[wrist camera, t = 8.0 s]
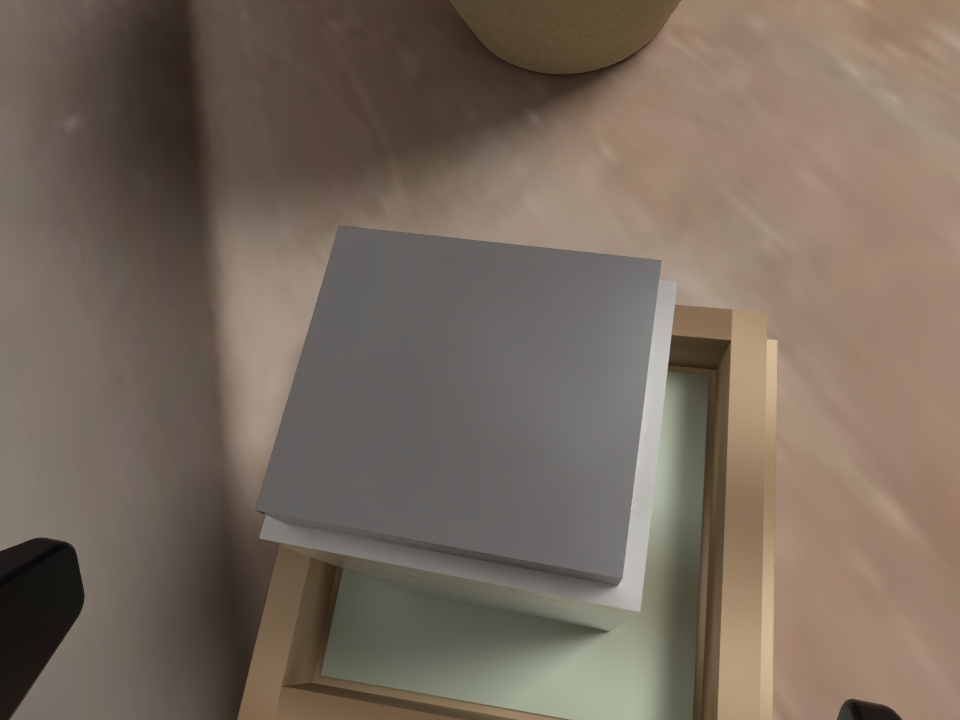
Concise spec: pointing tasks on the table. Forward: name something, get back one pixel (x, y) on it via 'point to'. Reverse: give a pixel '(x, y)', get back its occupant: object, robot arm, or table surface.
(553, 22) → the plant pot
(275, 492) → the grey lidded container
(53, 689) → the table surface
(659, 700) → the wooden tray
